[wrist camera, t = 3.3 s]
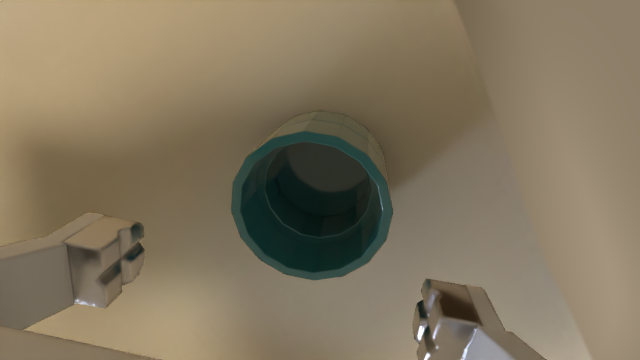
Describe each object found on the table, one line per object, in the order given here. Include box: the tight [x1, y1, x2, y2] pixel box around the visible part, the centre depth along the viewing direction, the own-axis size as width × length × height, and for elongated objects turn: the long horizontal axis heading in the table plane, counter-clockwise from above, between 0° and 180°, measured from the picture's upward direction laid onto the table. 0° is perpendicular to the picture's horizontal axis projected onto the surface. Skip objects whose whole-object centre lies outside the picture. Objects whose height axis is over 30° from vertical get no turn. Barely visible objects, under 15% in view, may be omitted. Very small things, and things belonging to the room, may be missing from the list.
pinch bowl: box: [231, 111, 393, 280], centre depth 16 cm, size 6×6×5 cm
